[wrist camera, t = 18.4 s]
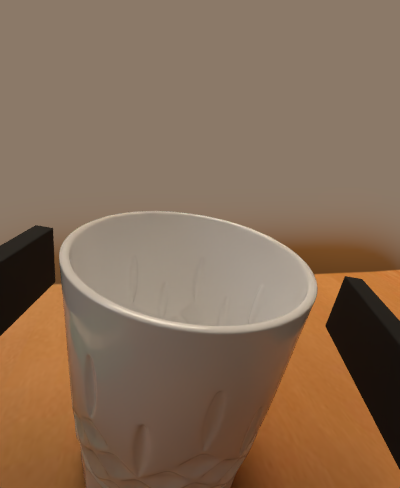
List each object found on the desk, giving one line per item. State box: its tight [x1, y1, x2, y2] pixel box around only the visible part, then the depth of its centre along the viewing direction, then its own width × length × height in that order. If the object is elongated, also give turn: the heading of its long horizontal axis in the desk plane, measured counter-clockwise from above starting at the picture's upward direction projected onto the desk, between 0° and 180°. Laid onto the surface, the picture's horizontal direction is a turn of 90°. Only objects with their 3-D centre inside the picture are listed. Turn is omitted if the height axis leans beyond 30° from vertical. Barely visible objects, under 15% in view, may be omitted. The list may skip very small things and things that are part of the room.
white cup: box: [59, 211, 317, 488], centre depth 12 cm, size 8×8×10 cm
